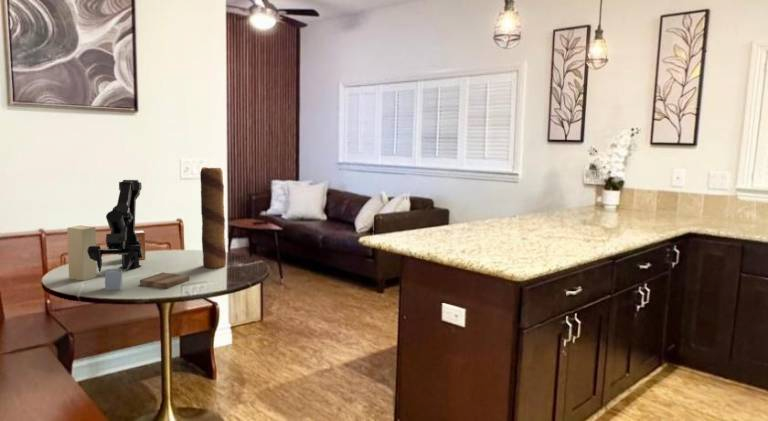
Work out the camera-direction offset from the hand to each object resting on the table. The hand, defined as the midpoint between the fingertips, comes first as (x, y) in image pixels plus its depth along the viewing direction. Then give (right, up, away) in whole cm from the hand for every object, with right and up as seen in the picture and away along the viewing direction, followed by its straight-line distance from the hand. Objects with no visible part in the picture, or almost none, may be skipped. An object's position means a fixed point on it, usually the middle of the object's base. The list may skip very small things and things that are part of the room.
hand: (112, 270), depth 204 cm
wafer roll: (+25, -3, +41) cm, 48 cm away
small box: (-15, 0, +50) cm, 52 cm away
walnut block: (+15, -6, +12) cm, 20 cm away
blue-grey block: (0, -7, +2) cm, 7 cm away
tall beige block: (-19, -5, +15) cm, 25 cm away
